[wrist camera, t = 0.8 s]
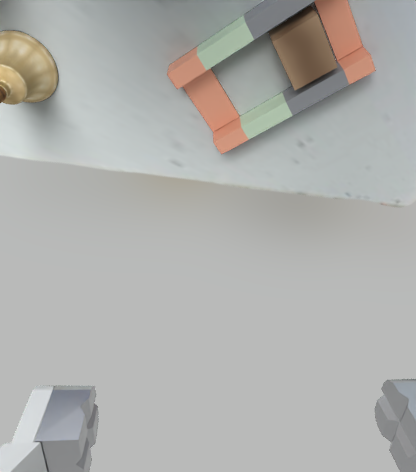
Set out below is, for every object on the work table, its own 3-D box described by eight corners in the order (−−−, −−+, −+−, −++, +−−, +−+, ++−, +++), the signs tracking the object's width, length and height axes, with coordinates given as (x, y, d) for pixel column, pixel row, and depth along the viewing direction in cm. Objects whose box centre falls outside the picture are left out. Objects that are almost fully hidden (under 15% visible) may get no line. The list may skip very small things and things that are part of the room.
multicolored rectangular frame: (331, -45, 39) (338, -41, 37) (367, 61, 46) (375, 70, 43) (169, 65, 46) (167, 74, 44) (221, 143, 53) (221, 154, 51)
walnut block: (310, 5, 42) (317, 14, 39) (329, 55, 45) (337, 67, 42) (268, 31, 44) (272, 42, 41) (289, 77, 47) (294, 90, 44)
